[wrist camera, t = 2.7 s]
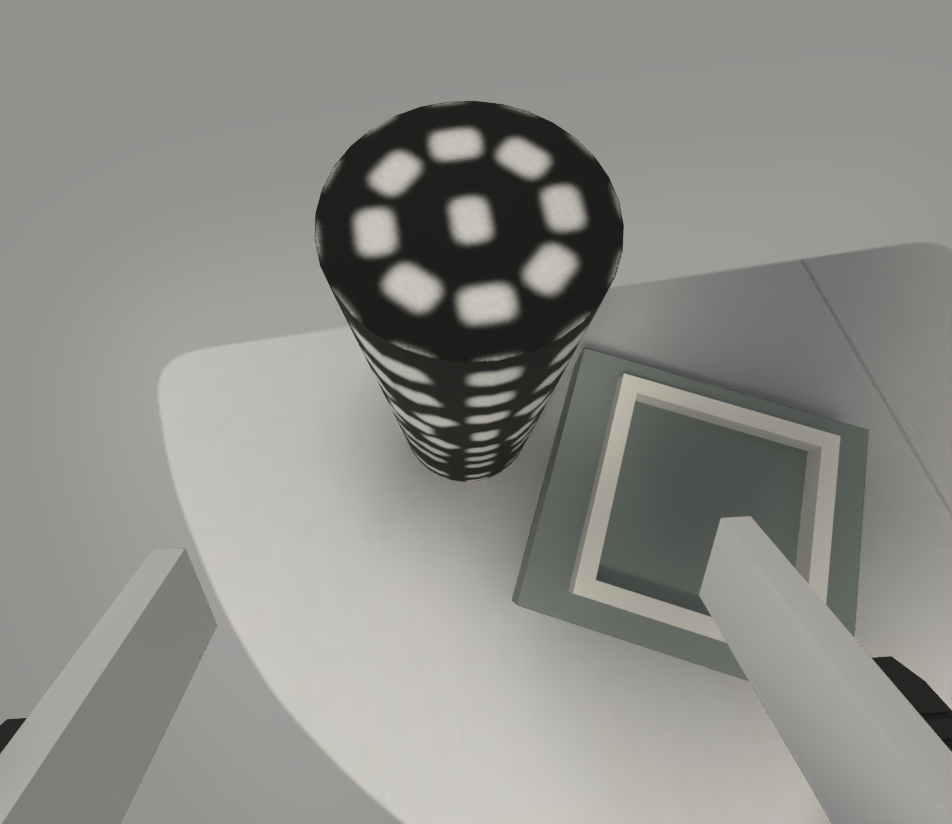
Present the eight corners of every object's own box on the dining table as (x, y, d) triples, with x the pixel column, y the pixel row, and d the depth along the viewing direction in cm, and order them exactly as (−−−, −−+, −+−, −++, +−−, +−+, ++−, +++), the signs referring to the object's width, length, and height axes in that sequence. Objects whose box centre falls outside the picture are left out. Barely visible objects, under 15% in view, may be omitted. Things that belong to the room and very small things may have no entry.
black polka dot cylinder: (397, 372, 33) (304, 117, 14) (515, 354, 33) (584, 87, 14) (413, 491, 31) (327, 386, 11) (539, 470, 31) (660, 336, 12)
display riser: (832, 441, 32) (885, 425, 28) (809, 697, 28) (867, 721, 24) (574, 365, 33) (589, 340, 29) (512, 600, 29) (519, 607, 25)
